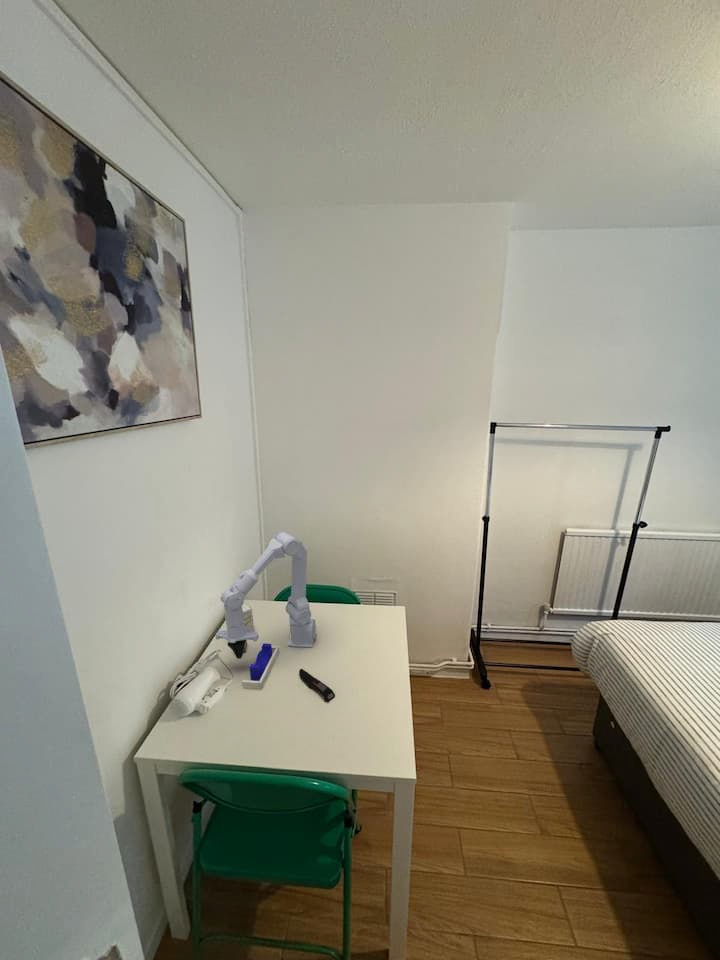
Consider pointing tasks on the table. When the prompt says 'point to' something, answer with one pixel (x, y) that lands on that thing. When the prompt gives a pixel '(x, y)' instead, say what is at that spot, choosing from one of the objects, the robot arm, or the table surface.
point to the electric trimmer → (317, 685)
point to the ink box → (248, 617)
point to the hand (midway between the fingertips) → (239, 656)
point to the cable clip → (261, 662)
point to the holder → (260, 683)
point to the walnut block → (245, 647)
